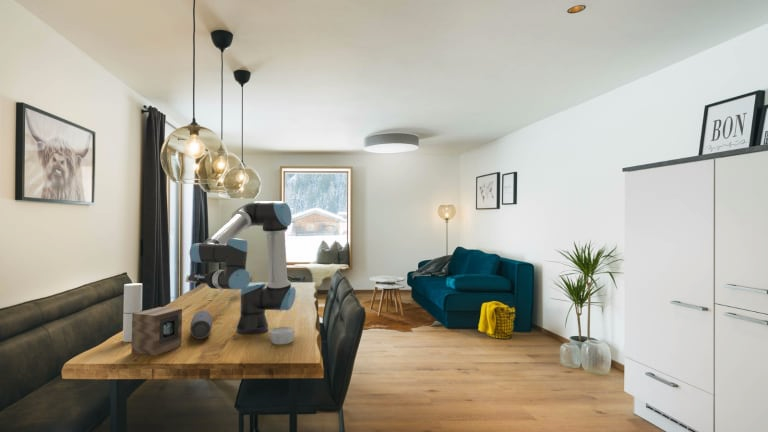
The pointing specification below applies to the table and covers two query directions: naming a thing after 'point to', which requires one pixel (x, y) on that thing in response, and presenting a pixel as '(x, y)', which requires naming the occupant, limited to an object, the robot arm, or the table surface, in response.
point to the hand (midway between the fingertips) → (187, 278)
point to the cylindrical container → (131, 307)
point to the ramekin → (281, 335)
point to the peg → (168, 328)
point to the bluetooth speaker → (201, 324)
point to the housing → (156, 330)
